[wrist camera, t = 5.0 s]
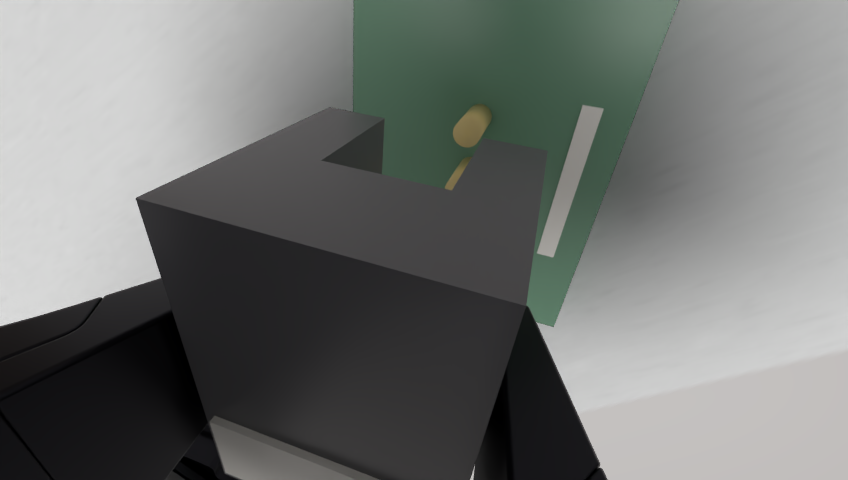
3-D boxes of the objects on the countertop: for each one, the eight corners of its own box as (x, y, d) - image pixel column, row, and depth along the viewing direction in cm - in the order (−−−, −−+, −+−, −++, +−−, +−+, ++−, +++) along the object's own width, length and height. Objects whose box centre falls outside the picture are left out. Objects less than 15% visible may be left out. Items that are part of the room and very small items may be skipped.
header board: (554, 308, 17) (551, 363, 15) (363, 256, 19) (331, 297, 17) (676, -20, 11) (709, -24, 8) (370, -52, 13) (318, -64, 10)
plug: (486, 367, 11) (439, 572, 7) (335, 320, 11) (220, 479, 8) (547, 150, 7) (525, 314, 4) (329, 107, 8) (125, 202, 4)
